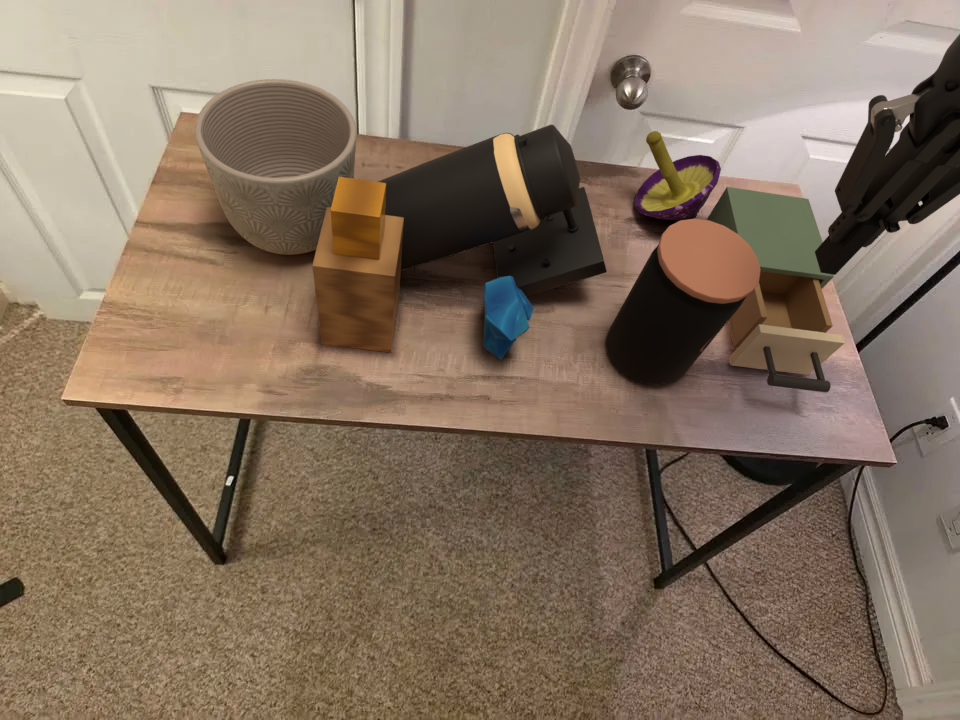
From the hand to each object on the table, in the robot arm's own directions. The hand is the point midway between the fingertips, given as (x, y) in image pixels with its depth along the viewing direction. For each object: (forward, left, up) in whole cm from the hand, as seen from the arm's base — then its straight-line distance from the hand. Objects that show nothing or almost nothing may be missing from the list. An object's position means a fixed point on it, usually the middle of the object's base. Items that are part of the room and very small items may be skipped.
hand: (825, 263), depth 62 cm
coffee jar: (+8, +6, -21) cm, 24 cm away
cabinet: (+8, -16, -21) cm, 28 cm away
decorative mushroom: (+29, -13, -10) cm, 33 cm away
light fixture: (+32, +15, -21) cm, 41 cm away
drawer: (-1, -7, -20) cm, 21 cm away
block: (+33, +31, -7) cm, 46 cm away
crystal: (+22, +20, -21) cm, 36 cm away
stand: (+33, +31, -21) cm, 50 cm away
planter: (+50, +29, -21) cm, 62 cm away
